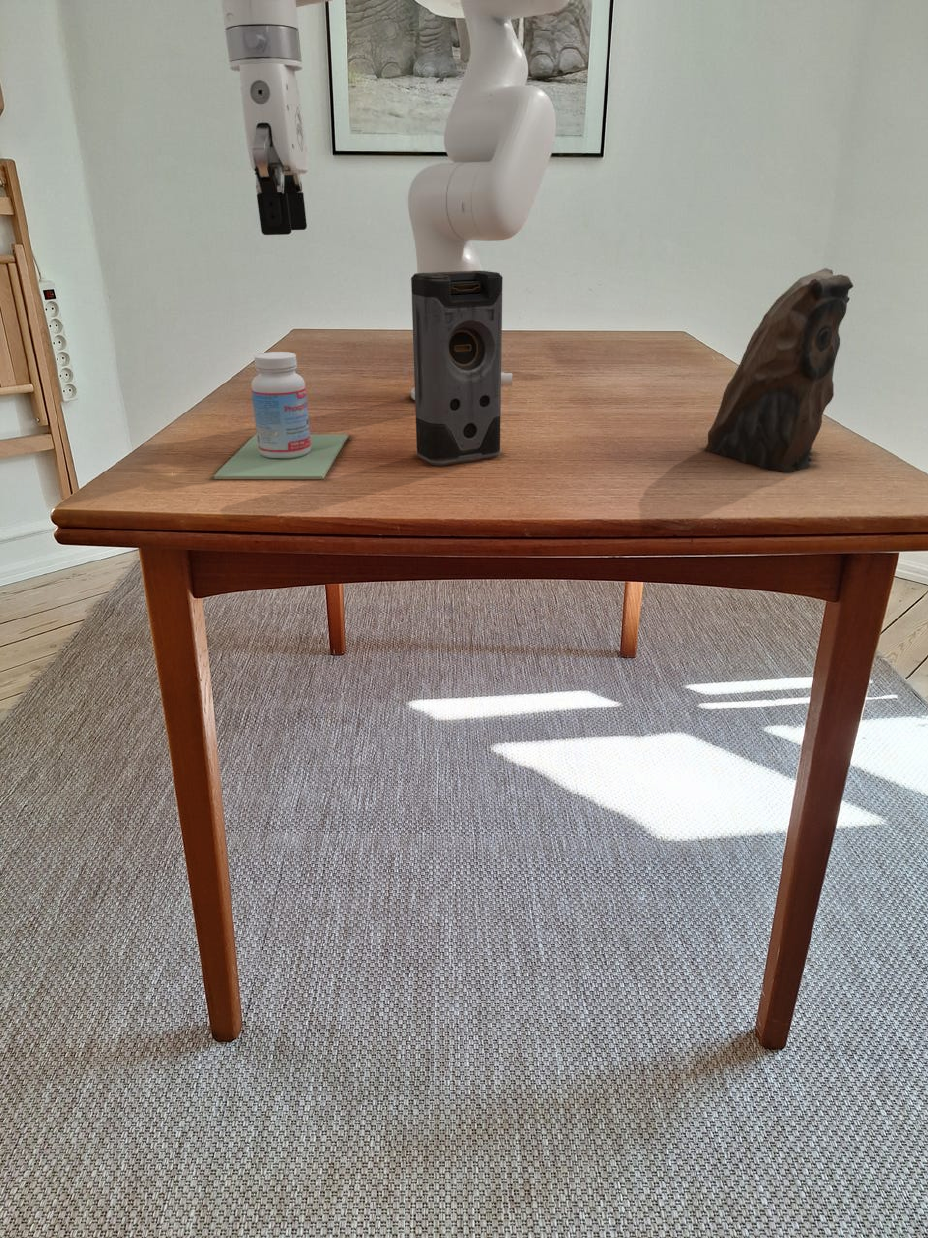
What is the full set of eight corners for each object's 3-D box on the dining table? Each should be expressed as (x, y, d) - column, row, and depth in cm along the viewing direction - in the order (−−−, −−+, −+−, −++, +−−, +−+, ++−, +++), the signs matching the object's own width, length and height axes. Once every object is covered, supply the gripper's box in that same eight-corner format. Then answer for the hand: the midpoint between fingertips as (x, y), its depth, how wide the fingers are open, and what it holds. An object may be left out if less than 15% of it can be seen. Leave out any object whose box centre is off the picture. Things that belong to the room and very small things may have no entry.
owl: (789, 439, 102) (820, 266, 92) (861, 467, 91) (903, 273, 82) (700, 448, 98) (723, 269, 89) (763, 478, 88) (796, 277, 78)
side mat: (348, 437, 104) (347, 434, 104) (323, 479, 88) (322, 475, 88) (255, 437, 105) (255, 434, 104) (213, 479, 89) (213, 475, 88)
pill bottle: (300, 461, 93) (290, 360, 88) (250, 458, 94) (238, 358, 89) (319, 447, 98) (310, 351, 93) (272, 445, 100) (261, 349, 94)
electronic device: (433, 468, 92) (429, 276, 83) (412, 455, 96) (405, 273, 87) (505, 457, 95) (508, 273, 86) (481, 445, 100) (481, 269, 91)
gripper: (283, 38, 78) (304, 235, 86) (313, 62, 93) (329, 227, 101) (206, 41, 78) (234, 237, 86) (248, 64, 93) (269, 229, 101)
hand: (285, 231), depth 94 cm, fingers open, 9 cm apart
